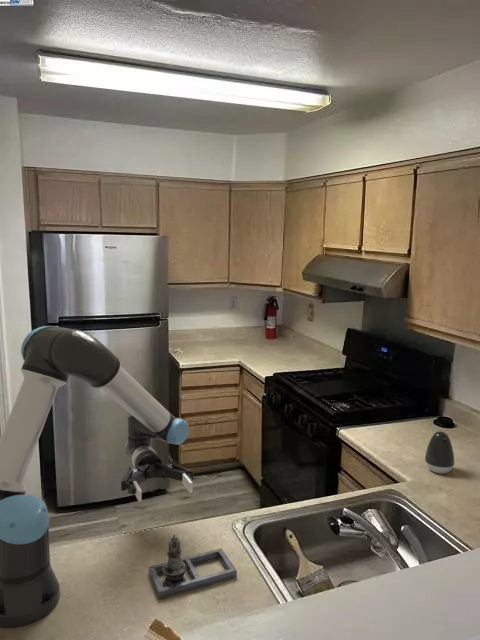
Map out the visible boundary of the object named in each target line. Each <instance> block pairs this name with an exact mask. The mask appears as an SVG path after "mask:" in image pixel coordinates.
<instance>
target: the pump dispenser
mask: <svg viewBox="0 0 480 640" xmlns="http://www.w3.org/2000/svg"><path fill="white" fill-rule="evenodd" d="M425 450H426V451H425V455H424V461H425V464H426V466H427V469H429V470H430V471H432V472H433V473H435V474H448V473H450V471H452V469H453V467H454V466H455V463H456V461H455V453H454V448H453V444H452V441H451V439H450V437H449V435H448V433H446V432H444V431H442V430H440V431H435V432H434V433H433V435H432V436H431V438H430V439H429V442H428V444H427V447H426V449H425Z"/></svg>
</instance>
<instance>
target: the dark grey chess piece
mask: <svg viewBox="0 0 480 640" xmlns="http://www.w3.org/2000/svg"><path fill="white" fill-rule="evenodd" d="M176 536H177V535H175V534H173V536H172V537H170V538H169V539H168V550H167V552H166V555H167V557H168V560H167V561H166V562H167V563H166V562H164V563H165V564H164V565H163V568H162V570H163V572H164V573H163V574H164V580H163V584H164V586H165V587H168V586H172V585H175V584H179V583H182V582H186V580H187V578H186V577H185V573H186V571H187V569H186V568H187V565H186V563H184V562H183V561H181V559H182V558H181V555H182V553H183V552H182V551H183V550H181V540H180V538H179V537H176Z"/></svg>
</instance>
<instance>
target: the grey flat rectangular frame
mask: <svg viewBox="0 0 480 640" xmlns="http://www.w3.org/2000/svg"><path fill="white" fill-rule="evenodd" d="M214 560H219V561H220V563H221V565H222V566H223V568H224V569H225V570H223V571H219V572H215V573H211V574H207V575H204V576H201V577H200V575H199V574H198V572H197V570H196V568H195V566H196V565H199V564H204V563H207V562H210V561H214ZM181 561H183V562H184V563H186V565H187V568H186V571H187V573H188V575H189V577H190V580H187V581H185V582H182V583H179V584H175V585H172V586H168V587H167V586H165V587H164V586H163V583H162V582H161V580H160V577H159V575H162V574H164V572H163V570H162V568H163V565H164V564H165V563H167V562H168V561H166V562H163V563H159V564H156V565H151V566H148V576H149V579H150V582H151V583H152V587H153V588H154V590H155V593H156V596H157V598H158V600H159V601H160V600H163V599H167V598H171V597H173V596H174V597H175V596H178V595H182V594H185V593H188V592H192V591H196V590H199V589H203V588H206V587H209V586H212V585H217V584H219V583H222V582H223V583H224V582H226V581H230V580H234V579H237V578H238V577H237V576H238V575H237V573H238V572H237V570H238V569H237V568H236V567H235V566H234V564H233V563H232V562H231V560H230V558H229V557H228V555H227V554H226V553H225V551H224V550H223V548H221V547H220V548H218V549H214V550H210V551H205V552H202V553H196V554H194V555H190V556H187V557H183V558H181Z"/></svg>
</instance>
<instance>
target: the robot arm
mask: <svg viewBox="0 0 480 640" xmlns="http://www.w3.org/2000/svg"><path fill="white" fill-rule="evenodd" d="M20 353H21V356H22V360H23V363H22V366H21V368H20V373H22V376H23V381H22V383H21V385H20V389H19V390H18V393H17V396H16V398H15V401H14V404H13V405H12V409H11V410H10V411H11V412H9V413H10V414H9V416H8V418H7V421H6V423H5V426H4V428H3V431H2V434H1V436H0V627H2V628H14V627H15V628H16V627H21V626H26V625H29V624H32V623H34V622H36V621H38V620H40V619H42V618H43V617H45V616H47V615H48V614H49V613H50V612H51V611H52V610H53V609H54V608H55V607H56V606H57V605H58V603H59V600H60V595H61V590H60V583H59V580H58V578H57V575H56V573H55V570H54V569H53V567H52V565H51V554H50V553H51V551H50V548H51V547H50V526H49V525H50V516H49V512H48V506H47V505H46V502H45V501H44V500H43V499H41V498H39V497H38V496H36V495H32V494H27V495H25V494H26V493H27V490H28V489H27V487H26V485H25V483H24V479H25V476H26V474H27V472H28V469H29V465H30V464H31V461H32V458H33V456H34V453H35V451H36V450H35V449H36V447H37V445H38V442H39V439H40V437H41V434H42V432H43V429H44V427H45V423H46V421H47V418H48V415H49V413H50V410H51V407H52V405H53V402H54V399H55V397H56V394H57V392H58V389H59V388H61V387H63V386H64V385H66V384H67V383H68V379H69V377H74V378H77V379H79V380H82V381H83V382H85V383H87V384H88V385H89V386H90V387H92V388H94V389H101V390H102V392H104V393H105V394H106V395H108V396H109V397H110V398H111V399H112V400H114V401H115V402H116V403H117V404H118V405H119V406H120V407H122V408H123V409H124V410H125V411H127V441H126V443H125V446H124V447H125V448H124V449H125V454H126V456H127V458H128V459H129V461H130V462H131V464H132V466H133V467H134V468H133V467H131V466H130V467H127V472H126V473H125V475H124V476H123V478H122V479H121V481H120V491H122V492H124V491H126V490H127V491H128V492H127V493H128V494H131V495H135V497H136V500H137V502H142V497H143V496H142V493H143V491H142V489H141V487H140V485H141V484H142V483H144V482H147V480H151V479H154V478H156V479H158V478H161V479H164V480H166V479H172V480H176V481H181V482H182V485H183V486H184V487H185V488H186V490H187V491H188V492H189V494H190V493H191V494H192V493H193V490H194V489H193V485H194V484H193V480H194V479H195V478H194V477H195V476H194V475H195V470H194V469H191V468H188V467H185V466H183V465H180V464H178V463H176V462H175V461H170V462H169V464H166V463H163V461H162V459H161V457H160V456H159V454H158V453H157V452H156V451H155V449H154V448H153V446H152V445H153V444H152V443H153V439H156V440H159V441H162V442H165V443H168V444H170V445H171V444H172V445H181V444H183V443H184V442H185V441H186V440H187V439H188V438H187V437H188V435H189V433H190V432H189V431H190V428H189V427H190V426H189V424H188V421H186V420H185V419H182V418H180V417H176V416H174V415H173V414H172V413H171V412H170V411H168V410H167V408H165V407H164V405H162V403H160V402H159V401H158V400H157V399H156V398H154V396H153V395H151V394H150V393H149V392H148V391H147V389H146V388H144V387H143V386H142V384H140V383H139V382H138V381H137V380H136V379H135V378H134V377H132V376H131V375H130V374H129V373H128V371H126V370H125V369H124V368H123V367H122V365H121V364H122V362H121V360H120V358H118V357H117V356H116V354H114V353H113V352H112V350H110V349H109V348H108V347H107V346H105V344H103V343H102V342H101V341H100V340H98V339H97V338H96V337H95V336H93V335H92V334H90V333H88V332H86V331H84V330H81V329H76V328H75V329H73V328H69V327H68V328H67V327H60V326H56V325H47V326H46V325H43V326H39V327H38V328H35V329H33V330H31V331H30V332H29V333H28V334H27V335H26V336H25V338H24V339H23V341H22V343H21V349H20Z"/></svg>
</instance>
